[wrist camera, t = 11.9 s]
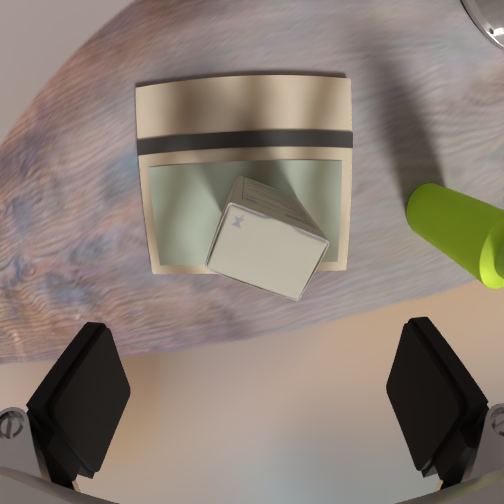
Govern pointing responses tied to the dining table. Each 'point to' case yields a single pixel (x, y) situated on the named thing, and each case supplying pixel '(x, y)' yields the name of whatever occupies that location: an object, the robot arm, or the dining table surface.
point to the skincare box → (266, 240)
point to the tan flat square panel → (241, 158)
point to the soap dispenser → (461, 230)
